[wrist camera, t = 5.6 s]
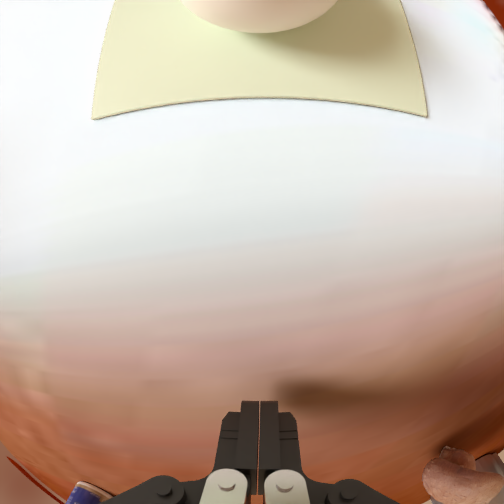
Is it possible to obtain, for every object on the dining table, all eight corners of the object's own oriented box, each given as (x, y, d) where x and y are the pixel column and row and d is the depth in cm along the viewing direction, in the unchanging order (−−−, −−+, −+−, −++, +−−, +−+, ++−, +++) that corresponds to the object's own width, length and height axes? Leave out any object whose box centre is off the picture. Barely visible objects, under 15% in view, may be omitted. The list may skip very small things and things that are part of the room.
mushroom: (462, 450, 13) (493, 504, 6) (407, 479, 14) (429, 542, 6) (480, 403, 12) (527, 467, 4) (414, 442, 13) (451, 523, 5)
